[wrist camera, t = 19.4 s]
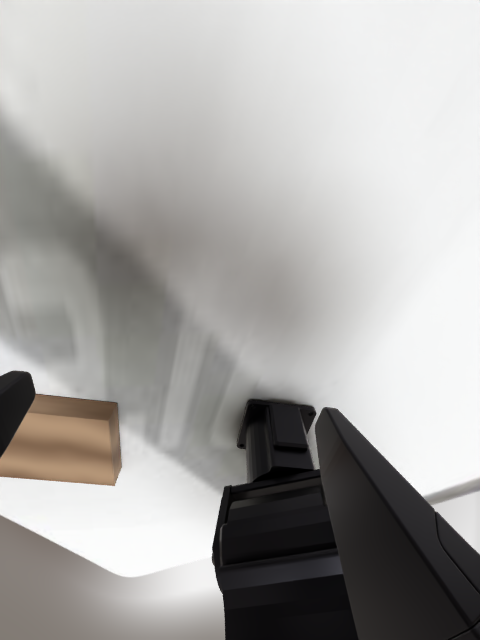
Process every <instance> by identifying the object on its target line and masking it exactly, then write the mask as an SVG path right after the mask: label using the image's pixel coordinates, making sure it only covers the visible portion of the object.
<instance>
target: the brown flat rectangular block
mask: <svg viewBox="0 0 480 640" xmlns="http://www.w3.org/2000/svg"><path fill="white" fill-rule="evenodd" d="M120 470H121V453H120V438H119V423H118V408H117V403H112V402H103V401H94V400H85V399H76V398H67V397H57V396H48V395H39V394H35V399H34V401H33V403H32V405H31V406H30V408H29V410H28V412H27V414H26V415H25V417H24V419H23V421H22V423H21V424H20V426H19V428H18V430H17V432H16V433H15V435H14V437H13V439H12V441H11V442H10V444H9V446H8V447H7V449H6V451H5V452H4V454H3V455H2V457H1V458H0V477H12V478H24V479H37V480H49V481H61V482H74V483H86V484H98V485H111V486H115V483H116V481H117V478H118V475H119V473H120Z"/></svg>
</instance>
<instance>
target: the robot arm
mask: <svg viewBox="0 0 480 640" xmlns="http://www.w3.org/2000/svg"><path fill="white" fill-rule="evenodd" d="M35 394H36V392H35V388H34V384H33V380H32V377H31V374H30V373H29V372H24V371H11V372H8V373H6V374H4V375H2V376H0V458H1V457H2V455H3V454H4V452H5V451H6V449H7V447H8V446H9V444H10V442H11V441H12V439H13V437H14V435H15V433H16V432H17V430H18V428H19V426H20V424H21V423H22V421H23V419H24V417H25V415H26V414H27V412H28V410H29V408H30V406H31V405H32V403H33V401H34V399H35ZM252 405H253V406H252ZM315 416H316V411H315V408H313V407H308V406H299V405H291V404H282V403H273V402H265V401H256V400H251V401H248V403H247V405H246V409H245V413H244V417H243V421H242V424H241V428H240V432H239V436H238V440H237V447H238V448H241V449H246V460H247V483H246V484H241V485H236V486H231V485H230V486H225V487H224V492H223V497H222V499H221V505H220V510H219V515H218V520H217V525H216V531H215V536H214V541H213V547H212V550H213V553H212V563H213V565H214V566H215V572H216V578H217V582H218V586H219V588H220V591H221V592H222V594H223V601H224V612H225V638H226V639H225V640H480V554H479V553H478V552H477V551H476V550H474V549H473V548H472V547H471V546H470V545H469V544H468V543H467V542H466V541H465V540H464V539H463V538H462V537H461V536H460V535H459V534H458V533H457V532H456V531H455V530H454V529H453V528H452V527H451V526H450V525H449V524H448V523H447V521H446V520H445V519H444V518H443V517H442V516H441V515H440V514H439V513H438V512H435V510H434V508H433V507H432V506H431V505H430V504H429V503H428V502H427V501H426V500H425V499H424V498H423V497H422V496H421V495H420V494H419V493H418V492H417V491H416V490H415V489H414V488H413V487H412V485H411V484H410V483H409V482H408V481H407V480H406V479H405V478H404V477H403V476H402V475H401V474H400V473H399V472H398V471H397V470H396V469H395V468H394V467H393V466H392V465H391V464H390V463H389V462H388V461H387V460H386V459H385V458H384V457H383V456H382V455H381V453H380V452H379V451H378V450H377V449H376V448H375V447H374V446H373V445H372V444H371V443H370V442H369V441H368V440H367V439H366V438H365V437H364V436H363V435H362V434H361V433H360V432H359V431H358V430H357V429H356V428H355V427H354V426H353V425H352V424H351V423H350V421H349V420H348V419H347V418H346V417H345V416H344V415H343V414H342V413H341V412H340V411H339V410H338V409H336V408H330V407H324V408H323V409H322V411H321V413H320V415H319V418H318V420H317V422H316V425H315V434H316V442H317V450H318V458H319V466H320V469H317V470H316V469H315V465H314V461H313V457H312V453H311V449H310V445H309V442H308V438H307V433H308V431H309V429H310V427H311V425H312V422H313V420H314V418H315Z"/></svg>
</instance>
